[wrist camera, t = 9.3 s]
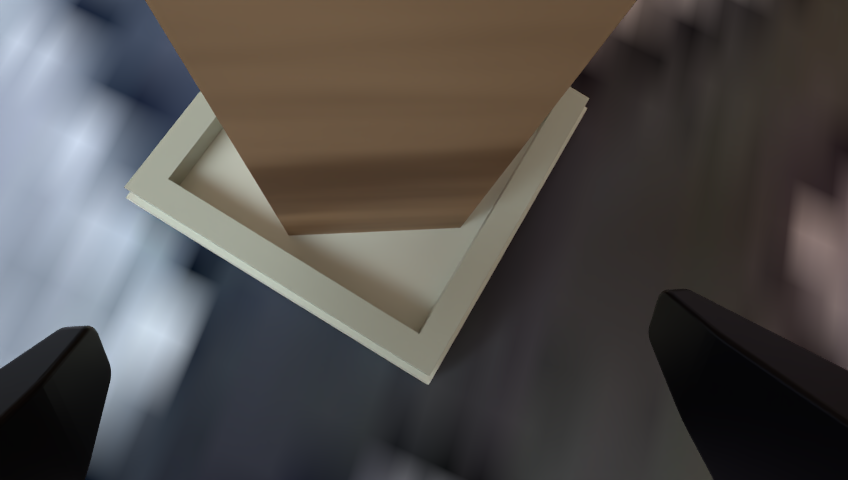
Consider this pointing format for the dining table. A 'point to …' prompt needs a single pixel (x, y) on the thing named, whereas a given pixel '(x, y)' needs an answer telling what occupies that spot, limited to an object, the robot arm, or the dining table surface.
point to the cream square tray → (349, 238)
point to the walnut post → (382, 97)
